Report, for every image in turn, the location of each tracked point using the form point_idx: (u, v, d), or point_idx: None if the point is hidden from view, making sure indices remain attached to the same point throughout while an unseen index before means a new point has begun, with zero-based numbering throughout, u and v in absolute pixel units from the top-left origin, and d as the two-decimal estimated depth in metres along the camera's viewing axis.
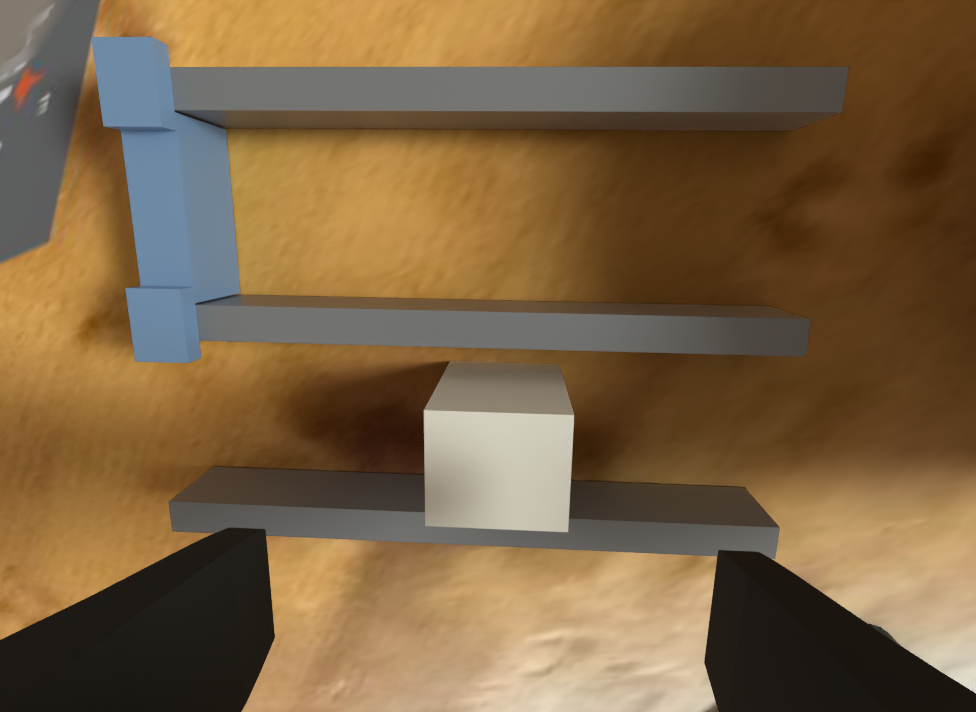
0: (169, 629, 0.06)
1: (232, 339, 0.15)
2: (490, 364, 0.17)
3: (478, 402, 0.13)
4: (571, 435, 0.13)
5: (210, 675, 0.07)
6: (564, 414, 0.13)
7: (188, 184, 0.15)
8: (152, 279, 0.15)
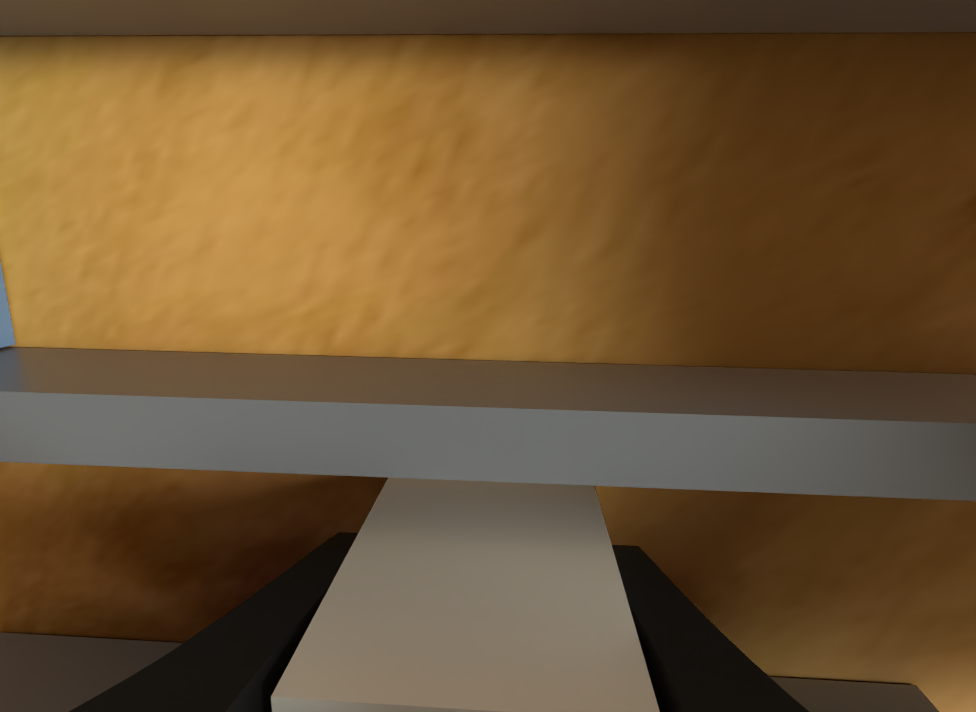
0: None
1: None
2: None
3: (419, 646, 0.06)
4: None
5: None
6: None
7: None
8: None
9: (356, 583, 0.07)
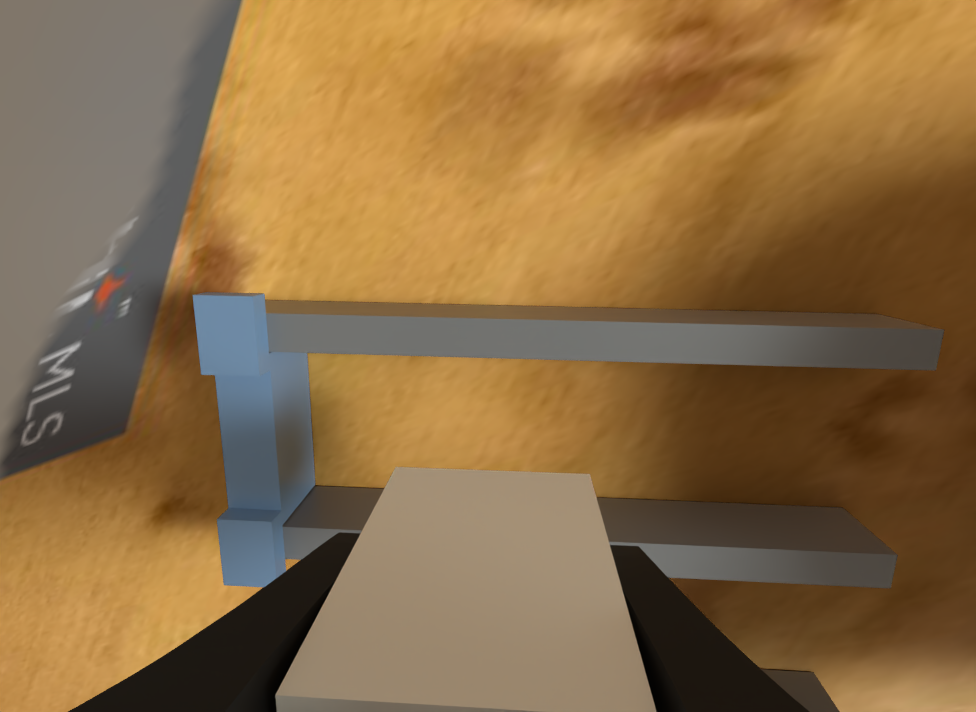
0: None
1: None
2: (466, 478, 0.09)
3: (420, 645, 0.06)
4: None
5: None
6: None
7: (278, 414, 0.15)
8: (240, 502, 0.15)
9: (358, 584, 0.07)
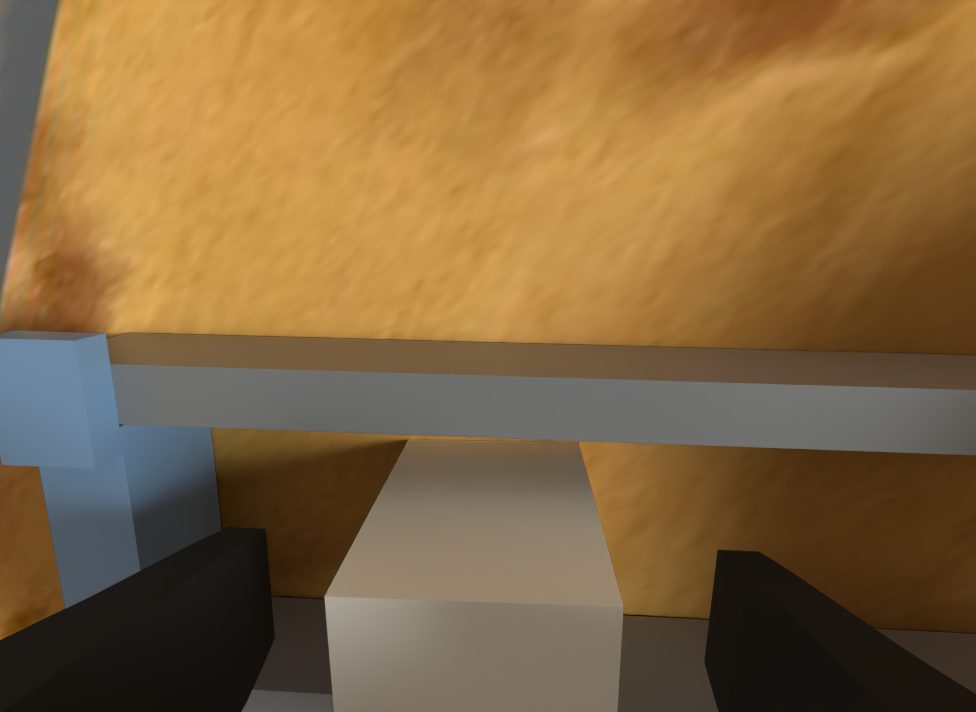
0: (169, 629, 0.06)
1: None
2: (470, 446, 0.11)
3: (436, 563, 0.07)
4: (618, 643, 0.06)
5: (210, 675, 0.07)
6: (604, 604, 0.06)
7: (144, 516, 0.09)
8: None
9: (383, 523, 0.08)
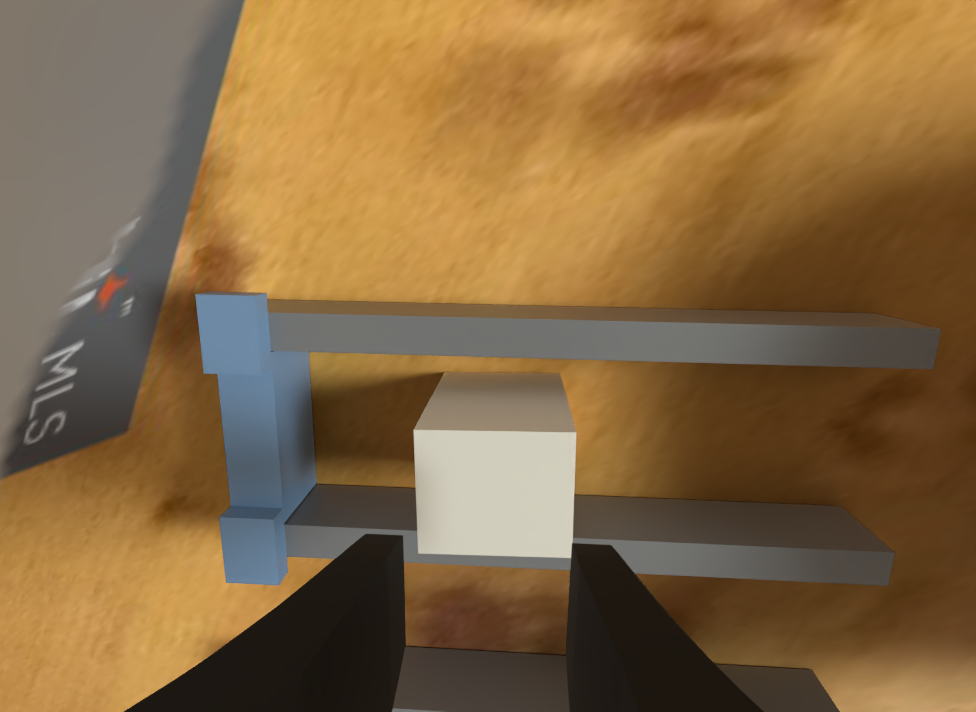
0: (352, 639, 0.06)
1: (319, 556, 0.15)
2: (487, 375, 0.16)
3: (473, 419, 0.12)
4: (573, 454, 0.12)
5: (373, 685, 0.07)
6: (565, 431, 0.12)
7: (280, 412, 0.15)
8: (242, 500, 0.15)
9: (438, 405, 0.13)
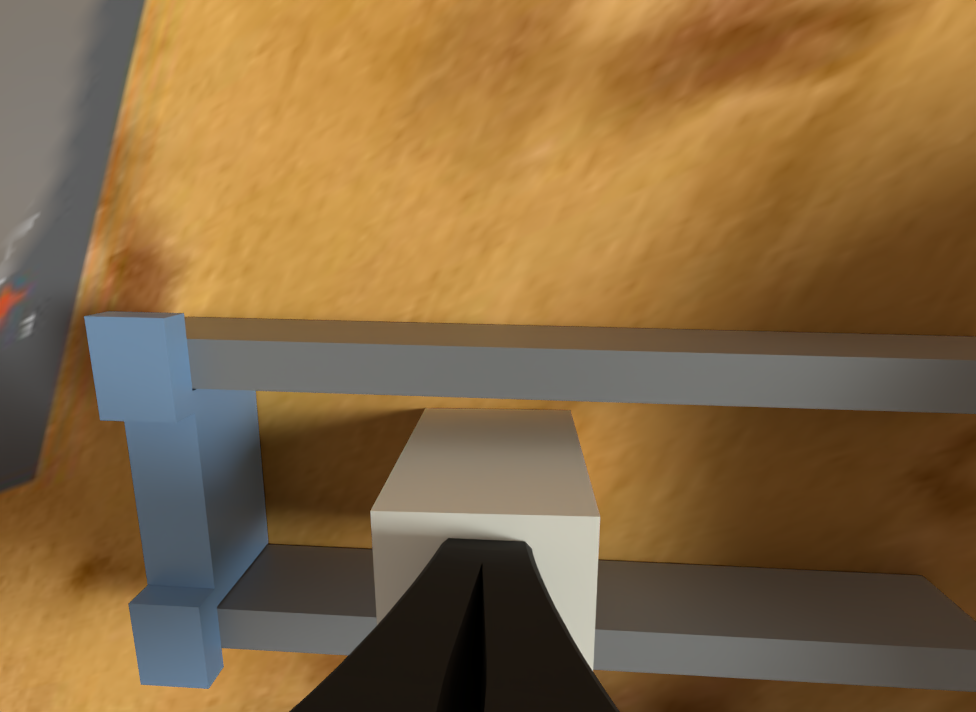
0: (464, 646, 0.06)
1: (263, 648, 0.12)
2: (478, 413, 0.13)
3: (455, 491, 0.09)
4: (596, 546, 0.08)
5: (473, 691, 0.07)
6: (585, 515, 0.08)
7: (208, 467, 0.11)
8: (162, 578, 0.12)
9: (410, 466, 0.10)
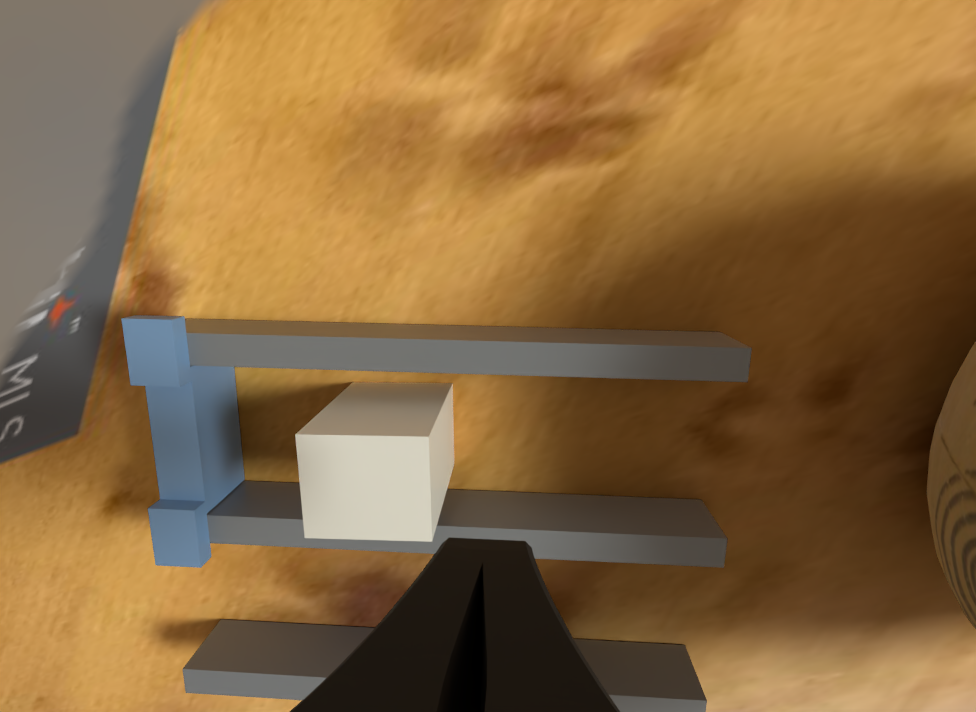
0: (464, 646, 0.06)
1: (238, 542, 0.18)
2: (387, 385, 0.19)
3: (350, 425, 0.15)
4: (428, 454, 0.14)
5: (473, 691, 0.07)
6: (420, 436, 0.14)
7: (201, 418, 0.17)
8: (170, 494, 0.18)
9: (328, 413, 0.16)
